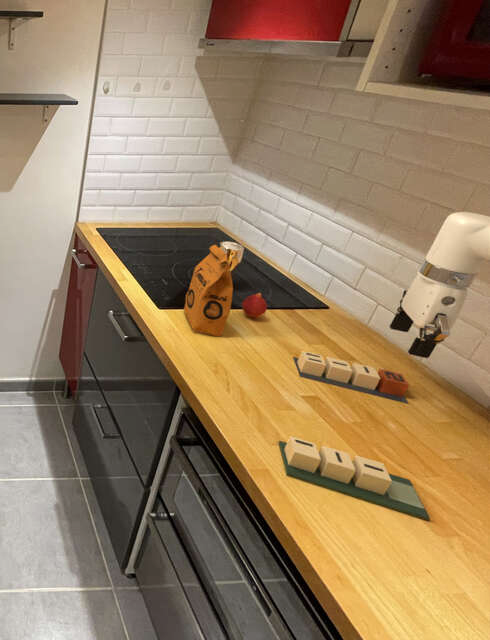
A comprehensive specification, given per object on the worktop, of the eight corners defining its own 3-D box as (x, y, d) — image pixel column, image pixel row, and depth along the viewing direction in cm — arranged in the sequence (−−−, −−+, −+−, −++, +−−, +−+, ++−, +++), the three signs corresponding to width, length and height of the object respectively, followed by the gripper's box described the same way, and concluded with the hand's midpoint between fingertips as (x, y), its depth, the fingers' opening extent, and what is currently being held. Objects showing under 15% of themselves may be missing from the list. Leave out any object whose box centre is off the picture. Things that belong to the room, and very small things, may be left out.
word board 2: (408, 481, 80) (418, 465, 79) (429, 521, 74) (441, 504, 72) (278, 442, 88) (285, 426, 86) (286, 475, 81) (294, 458, 79)
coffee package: (186, 332, 121) (206, 260, 112) (179, 308, 131) (197, 241, 122) (226, 340, 118) (250, 266, 109) (216, 315, 129) (237, 246, 120)
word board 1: (393, 382, 104) (401, 368, 102) (408, 406, 97) (416, 391, 96) (291, 358, 111) (297, 344, 110) (299, 378, 105) (305, 364, 103)
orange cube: (395, 385, 102) (402, 373, 101) (402, 397, 99) (409, 384, 97) (373, 380, 104) (379, 368, 102) (380, 391, 100) (386, 379, 99)
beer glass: (218, 294, 139) (231, 251, 133) (202, 283, 146) (214, 242, 139) (236, 292, 141) (250, 249, 135) (220, 281, 147) (232, 240, 141)
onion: (240, 320, 127) (249, 296, 123) (237, 309, 132) (245, 286, 128) (264, 324, 125) (273, 300, 122) (260, 314, 130) (268, 290, 126)
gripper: (497, 298, 81) (450, 372, 88) (448, 259, 95) (412, 325, 102) (443, 288, 83) (402, 361, 91) (404, 252, 98) (371, 317, 105)
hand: (407, 342), depth 96 cm, fingers open, 9 cm apart
